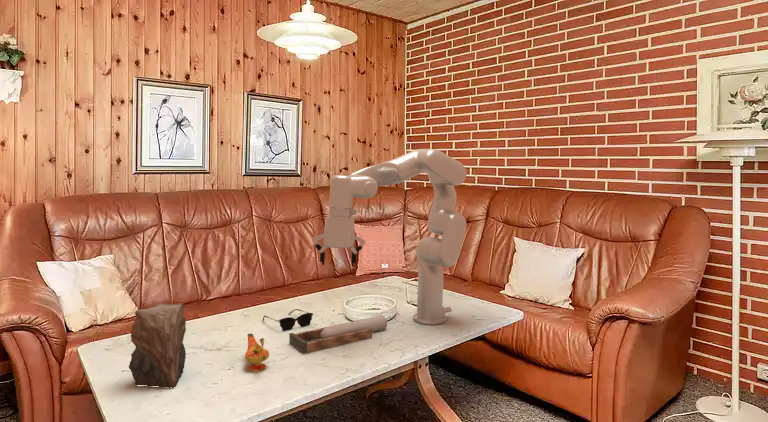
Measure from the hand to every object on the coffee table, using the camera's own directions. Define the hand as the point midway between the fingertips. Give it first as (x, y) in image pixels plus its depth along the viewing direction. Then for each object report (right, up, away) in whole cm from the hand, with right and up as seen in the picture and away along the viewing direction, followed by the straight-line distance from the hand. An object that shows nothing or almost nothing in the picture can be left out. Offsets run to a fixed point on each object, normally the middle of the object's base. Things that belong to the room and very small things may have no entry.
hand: (337, 264), depth 167 cm
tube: (+5, -26, +8) cm, 27 cm away
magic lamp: (-22, -28, -18) cm, 40 cm away
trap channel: (-2, -26, +2) cm, 26 cm away
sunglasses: (-21, -24, +20) cm, 37 cm away
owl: (-45, -29, -29) cm, 61 cm away
